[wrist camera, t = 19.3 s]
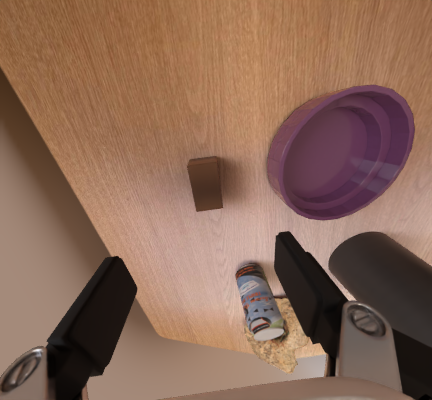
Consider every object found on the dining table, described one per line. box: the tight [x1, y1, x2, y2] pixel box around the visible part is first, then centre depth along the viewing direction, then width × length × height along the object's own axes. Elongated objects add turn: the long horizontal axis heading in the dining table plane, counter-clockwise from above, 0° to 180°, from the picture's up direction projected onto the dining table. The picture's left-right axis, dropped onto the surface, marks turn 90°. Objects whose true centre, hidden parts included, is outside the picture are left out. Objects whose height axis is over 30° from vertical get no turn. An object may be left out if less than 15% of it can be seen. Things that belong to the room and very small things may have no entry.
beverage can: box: [236, 264, 284, 341], centre depth 30 cm, size 6×7×12 cm
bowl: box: [267, 85, 415, 220], centre depth 23 cm, size 17×17×5 cm
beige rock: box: [244, 298, 309, 373], centre depth 42 cm, size 18×14×8 cm
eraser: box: [187, 156, 223, 212], centre depth 24 cm, size 7×4×4 cm, turn 7°
